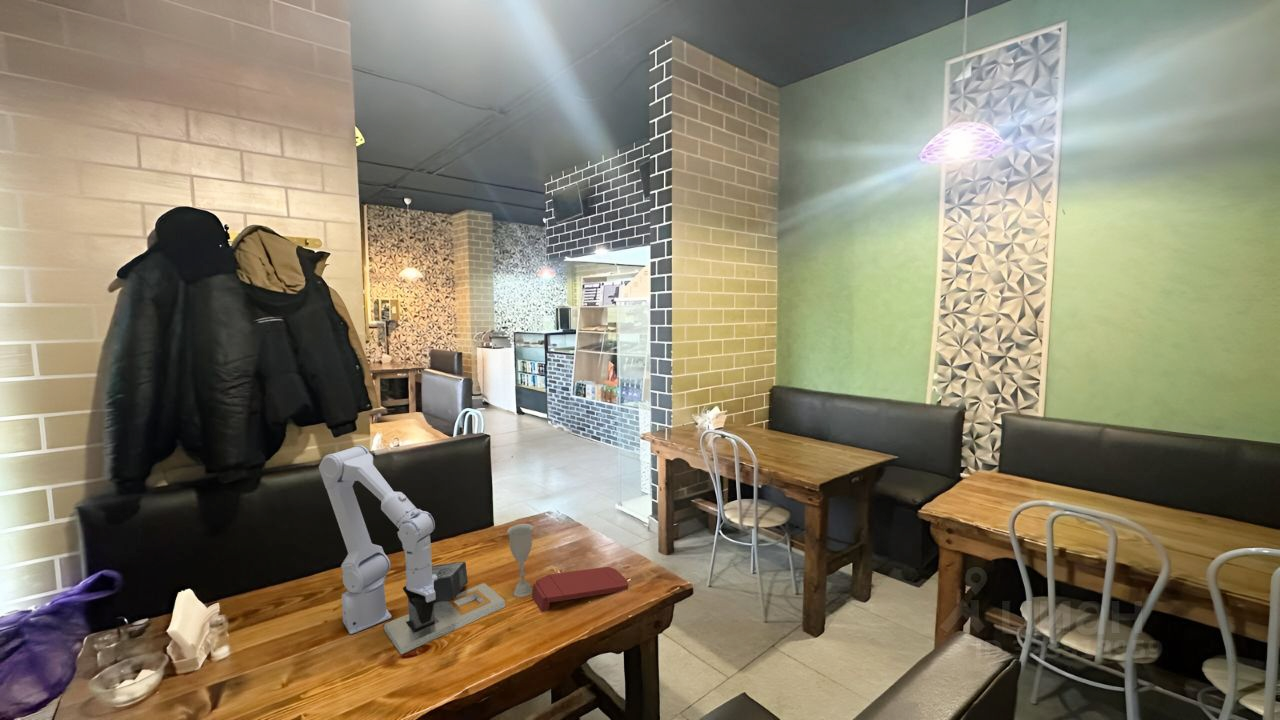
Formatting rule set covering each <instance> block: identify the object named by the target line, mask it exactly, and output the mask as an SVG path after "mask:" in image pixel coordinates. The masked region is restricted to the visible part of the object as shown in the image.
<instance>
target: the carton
mask: <svg viewBox="0 0 1280 720" xmlns="http://www.w3.org/2000/svg"><path fill="white" fill-rule="evenodd" d="M626 590H628V579H626V578H625V576H623V575H622V574H621V573H620V571H618V570H617V569H616V568H613V567H611V566H602V567H595V568H588V569H587V568H586V569H581V570H572V571H565V572H559V573H556V572H555V573H549V574H547V575H545V576H543V577H541V578H539V579H537V580H535V583H533V586H532V593H531V598H532V600H533V601H534V603H535V605H536V607H538V609H539V611H540V613H543V612H547V611H550V603H554V602H562V601H567V600H569V601H570V600H574V599H581V598H587V597H592V596H593V597H594V596H599V595H605V594H613V593H617V592H622V591H626Z"/></svg>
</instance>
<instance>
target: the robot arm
mask: <svg viewBox="0 0 1280 720" xmlns="http://www.w3.org/2000/svg"><path fill="white" fill-rule="evenodd" d="M318 470H319V472H320V476H321V480H322V482H323V485H324V487H325V489H326V492H327V495H328V497H329V500H330V503H331V506H332V509H333V513H334V515H335V518H336V522H337V523H338V527H339V530H340V532H341V536H342V538H343V542H344V545H345V547H346V548H345V549H346V551H347V555H346V557H345V559H344V560H343V562H342V563H341V565H340V568H341V571H342V583H343V585H344V588H345V589H347V591H345V592H343V593H342V594H341V608H342V609H341V610H342V623H343V624H344V626H345V628H346V630H347V632H348V633H349V634H350V635H353V634H355V633H358V632H360V631H363V630H366V629H369V628H370V627H373V626H375V625H378V624H380V623H381V624H382V623H383V622H386V621H387V620H390V619H392V614H391V613H390V611H389V610H388V609H387V604H386V603H387V602H386V587H385V581H386V580H387V574H388V573H390V570H391V560H390V559H389V557H388V556H387V554H386V553H385V552H384V551H385V550H384V549H383V546H381V545H378V544H374V543H372V540H371V537H370V533H369V531H368V528H367V525H366V523H365V519H364V515H363V514H362V511H361V508H360V505H359V502H358V498H357V495H356V494H355V490H354V487H353V485H354V483H355V482H359V483H361V484H362V486H364V487H365V488H366V489H368V491H370V492H371V493H372V494H373V495H374V496H375V497H376V498H377V499H378V500H379V501H380V502H381V504H380V510H381V511H382V512H383V513H384V514H385V516H387V518H388V519H389V520H390V521H391V522H392V523H393V524H394V526H396V527H397V529H399V530H398V531H397V532H396V533H397V537H398V538H399V541H400V542H401V545H402V549H403V551H404V558H405V559H404V560H405V586H403V587H402V590H403V592H404V593H405V594H406V597H407V598H408V599H411V598H412V601H413V602H414V603H415V605H416V607H417V610H418V614H419V619H420V622H421V624H424V623H426V622H429V621H430V620H431V616H432V611H433V607H434V604H435V603H436V602H437V601H436V599H437V598H438V592H437V591H434V581H435V580H437V576H436V575H435V574H433V575H432V566H433V564H432V563H433V562H432V547H431V545H432V544H431V535H430V534H431V533H432V532H434V530H435V528H436V524H435V523H436V522H435V520H434V517H433V516H432V514H431V513H429V512H428V511H425V510H421V508H417V507H416V506H415V505H414V504H413V502H412V501H411V500H410V499H409V498H408V497H407V496H406V495H405V494H404V493H403V492H402V491H394V490H393V488H392V487H391V486H390V484H389V483H388V481H386V479H385V478H384V477H383V475H382V474H381V472H379V470H378V469H377V467H376V466H375V465H374V456H373V454H371V452H370V451H369V450H368V448H366V447H365V446H364V445H361V444H360V445H359V444H358V445H354V446H353V447H350V448H347V449H344V450H340V451H337V452H334V453H329V454H326V455H324V456H323V458H322V459H321V462H320V464H319V465H318ZM408 599H407V600H408Z"/></svg>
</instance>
